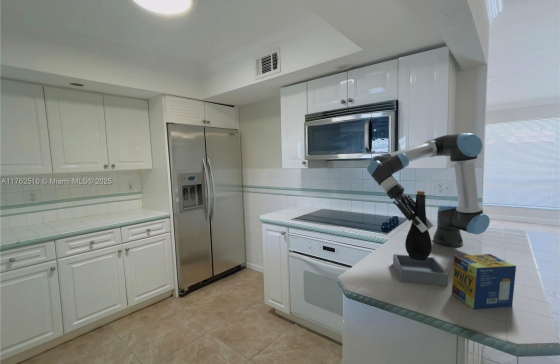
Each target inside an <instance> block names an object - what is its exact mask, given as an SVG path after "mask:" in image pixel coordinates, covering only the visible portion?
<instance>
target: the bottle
mask: <svg viewBox="0 0 560 364" xmlns="http://www.w3.org/2000/svg"><path fill="white" fill-rule="evenodd" d="M416 193H417V194H416V195H415V210H414V212H413V213H414V215H415V216H416V217H418V218H419V219H420V220H421V222H422V223H423V224H424V225H425V226H426V227H427V221H426V217H427V212H426V210H427V209H426V194H425V191H424V190H417V191H416ZM427 228H428V227H427ZM404 244H405V245H404V247H405V251H406V253H407V255H409V257H410V258H412V259H414V260H420V261H423V260H426V259H427V257H430V256H431V252H432V250H433V246H432V245H433V244H432V238H431V235H430V232H429V229H427V230H426V231H424V232H423V233H422V232H421V231H420V229H419V228H418V227H417V226H416V225H415V224H414V222H413V221H412V220H411V225H410V227H409V230H408V232H407V235H406V237H405V243H404Z"/></svg>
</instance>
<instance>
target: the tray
mask: <svg viewBox="0 0 560 364" xmlns="http://www.w3.org/2000/svg"><path fill="white" fill-rule="evenodd" d="M392 255H393V258H392V264H393V267H394V268H395V269H396V270H395V271H396V274H397V277H398V279H399V282H404V283H411V284H423V285H433V286H434V285H435V286H443V287H445V286H446V287H448V286H449V273H448V271H446V270H445V269H444V267H443V266H442V265H441V264H440V262H439V261H438V260H437V259H436V258H435V256H428V257H427V259H426V260H423V261H420V260H414V259H412V258H410V257H409V254H397V253H394V254H392Z"/></svg>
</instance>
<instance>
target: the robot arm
mask: <svg viewBox="0 0 560 364" xmlns="http://www.w3.org/2000/svg"><path fill="white" fill-rule="evenodd" d="M482 150H483V141H482V139H481V138H480V137H479V136H478V135H477V134H475V133H472V132H471V133H470V132H463V133H455V134H445V135H442V136H439V137H438V136H437V137H436V138H432V139H429V140H426V141H425V142H424V143H420V144H417V145H415V146H411V147H407V148H404V149H401V150H400V149H399V150H397V151H393V152H390V153H387V154H382V155H374V156H372V158H371V159H370V164H368V166H367V168H366V171H367V173H368V174H369V175H370V177H372V179H374V181H375V182H376V183H377V185H379V187H380V188H381V190H382V191H384V192H385V193H386V195H387V196H388V198H389V199H391V200H393V201H392V203H393V204H394V205H395V206H396V207H397V208H398V209H399V211H400V212H401V213H402V214H403V216H404V217H405V218H406V219H407V221H409V222H412V221H413V222H414V224H415V225H416V226H417V227H418V228H419V229H420V231H421V232H422V233H423V232H424V231H426V230H427V229H428V230H429V229H431V228H432V227H434V226H435V225H434V223H432V222H431V221H430V220H429V219H428V217H427V216H426V221H427V227H428V228H427V227H426V226H425V225H424V224H423V223H422V222H421V220H420V219H419V218H418V217H416V216H415V215H414V210H415V202H416V200H414V199H413V197H412V196H411V195H410V194H409V195H406V193H404V192H405V188H404V187H403V186H402V185H401V184H400V183H399V181H398V180H397V179H396V177H394V176H393V175H394V174H395V173H397V172H399V171H402V170H403V169H406V167H408V166H409V164H410V162H413V161H417V160H420V159H424V158H434V157H449V159H450V162H451V163H453V165H454V174H455V183H456V191H457V199H458V204H440V205H438V208H437V216H436V217H437V219H436V220H437V221H436V224H437V226H436V230H435V232H434V234H433V239H432V241H433V243H436V244H437V245H441V246H447V247H453V248H454V247H462V246H464V240H463V237H462V234H461V231H464V232H467V233H468V234H473V235H481V234H483V233H485V232H486V230H488V227H489V226H490V217H489V215H487V213H486V214H485V213H484V210H483V209H484V208H483V207H482V206H481V205H479V198H478V197H479V195H478V187H477V177H476V166H475V161H476V160H477V159H478V156H479V155H480V154H481V152H482Z"/></svg>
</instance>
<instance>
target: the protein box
mask: <svg viewBox="0 0 560 364" xmlns="http://www.w3.org/2000/svg"><path fill="white" fill-rule="evenodd" d="M452 271H453V272H452V284H451V285H452V286H451V294H452V295H454V297H456V298H457V299H458V300H460V301H461V302H463V303H464V304H466V305H467V307H470V308H471V309H472V310H481V309H482V310H483V309H484V310H485V309H496V308H498V309H499V308H511V307H513V303H514V302H513V301H514V292H515V281H516V272H517V265H516V264H513V263H511V262H509V261H506V260H505V259H501V258H499V257H497V256H495V255H493V254H490V253H488V254H487V253H485V254H468V255H467V254H466V255H454V256H453V270H452Z"/></svg>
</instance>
